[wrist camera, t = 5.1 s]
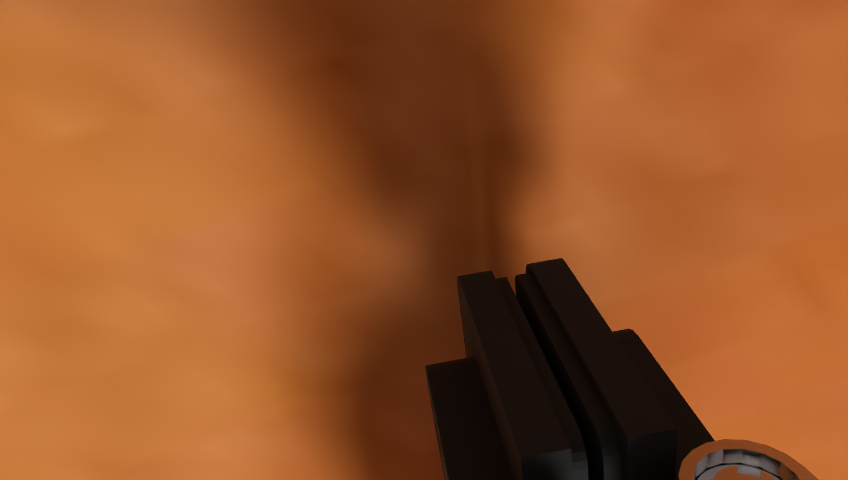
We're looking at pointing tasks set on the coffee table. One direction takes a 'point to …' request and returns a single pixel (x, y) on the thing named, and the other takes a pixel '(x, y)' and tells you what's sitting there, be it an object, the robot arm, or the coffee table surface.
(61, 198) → the coffee table surface
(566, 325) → the robot arm
